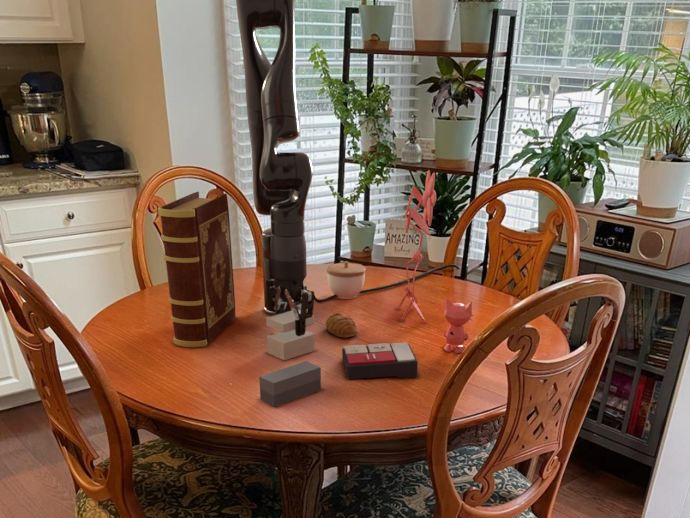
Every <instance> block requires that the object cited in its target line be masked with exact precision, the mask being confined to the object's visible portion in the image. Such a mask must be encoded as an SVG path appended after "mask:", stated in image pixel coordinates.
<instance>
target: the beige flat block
mask: <svg viewBox="0 0 690 518" xmlns="http://www.w3.org/2000/svg"><path fill="white" fill-rule="evenodd" d="M298 311H299V314H301V310H298ZM295 320H296V318H295V315H294V312H293V310H292V311H289V312H285V313H281V314H277V315H270V316H266V317H265V321H266V323H265V324H266V327H267V328H270V329H272V330H275V331H278V332H279V333H280V332H282V333H285V332H289V331H292V330H296V326H295ZM312 325H315V315H314V314H313V316H312V317H310V318H306V326H305V327H306V328H307V327H308V326H312Z"/></svg>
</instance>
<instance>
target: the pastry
mask: <svg viewBox="0 0 690 518" xmlns="http://www.w3.org/2000/svg"><path fill="white" fill-rule="evenodd" d="M325 327H326V330H327V331H328V332H329V333H330V334H332V335H333V336H335V337H338V338H348V337H355V336H356V334H357V333H358V330H357V328H358V327H357V325H356V322H355V320H354V319H353V318H352V317H351V316H349V315H346V314H344V313H341V312H335V313H333V314H331V315H329V317H327V319H326V321H325Z"/></svg>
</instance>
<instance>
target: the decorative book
mask: <svg viewBox="0 0 690 518" xmlns="http://www.w3.org/2000/svg"><path fill="white" fill-rule="evenodd" d="M157 213H158V216H160V223H161V233H162V234H160V237H161V241H163V248H164V254H163V255H162V256H163V260H164V261H165V267H166V275H167V285H168V291H169V297H168V303H169V304H170V308H171V309H170V311H171V315H170V321H171V322H172V326H173V334H174V336H172V339H173V340H172V341H173V344H174V345H176V346H178V347H182V348H190V349H191V348H203V347H206V346H207V345H208V344H209V343H210V342H211V341H212V340H214V338H216V337H217V336H218V335H219V334H220V333H222V331H223V330H224V329H226V328H227V327H228V326H229V325H230V324H231V323H233V321H234V320H235V319H236V296H235V295H236V294H235V282H234V281H235V279H234V268H233V266H234V265H233V252H232V251H233V250H232V239H231V237H232V236H231V224H230V210H229V201H228V194H227V192H225V193H223V194H221V195H220V196H218V197H216V198H209V197H208V198H205V197H200V192H199V191H196V192H192V193H190V194H188V195H186V196H183V197H181V198H179V199H176V200H174V201H171V202H169V203H166V204H165V205H163V206H158V207H157Z"/></svg>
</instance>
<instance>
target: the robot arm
mask: <svg viewBox="0 0 690 518" xmlns="http://www.w3.org/2000/svg"><path fill="white" fill-rule="evenodd" d="M235 5H236V14H237V21H238V27H239V36H240V42H241V43H240V44H241V51H242V58H243V68H244V85H245V86H244V87H245V101H246V102H245V104H246V115H247V124H248V131H249V140H250V149H251V169H252V170H251V172H252V173H251V174H252V175H251V176H252V198H253V205H254V208H255V211H256V213H257V214H258V215H261V216H269V218H270V227H269V228H267V229H264V230H263V231H262V233H261V236H260V238H261V257H262V258H261V259H262V260H261V261H262V279H263V282H262V283H263V298H264V299H263V300H264V301H263V302H264V303H263V304H264V307H263V309H264V313H266V314H268V315H270V316H274V315H277V314H281V313H285V312H289V311H292V310H293V312H294V315H295V318H296V320H295V326H296V330H295V334H296V335H297V336H302V335H304V334H305V332H306V331H307V330H306V329H307V326H306V318H310V317H312V316H313V315H314V314H313V313H314V304H315V302H316V303H324V302H328V301H330V300H333V299H335V298H337V297H338V296H337V295H335V294H333V295H331V296H328V297H326V298H324V299H319V298H317V296H316V295H315V292H314V290H308V288H307V287H308V286H307V285H305V284H304V280H305V279H306V278H307V272H308V271H307V270H308V269H307V266H308V265H307V241H306V233H305V232H306V225H305V224H306V222H305V221H306V220H305V218H306V217H305V214H306V213H305V212H306V207H307V200H308V195H309V193H310V192H309V191H310V188H311V184H312V180H313V174H314V168H313V163H312V160H311V158H310V157H309V156H308V154H306V153H305V152H301V151H291V152H289V151H287V152H285V151H284V152H278V151H277V149H278V148H279V146H280V145H284V144H286V143H291V142H293V141H295V140H296V139H298V137H299V136H300V121H299V111H298V103H297V91H296V6H295V0H235ZM259 29H260V30H267V29H268V30H269V29H278V30H279V40H278V45H277V49H276V52H275V55H274V58H273V60H272V63H271V62H270V60H269V59H268V57H267V56H266V53H265V51H264V50H263V48H262V46H261V44H260V41H259V38H258V35H257V33H256V30H259ZM447 268H455V269H457V270H461V268H460V267H459V265H457V264H456V263H455V264H454V263H449V264H446V265H443V266H440V267H435V268H432V269H430V270H427V271H425V272H422V273H420V274H417V275H415V280H417V279H419V278H422V277H424V276H427V275H428V274H429V275H430V274H431V273H433V272H438V271H442V270H444V269H447ZM411 281H413V276H412V277H409V282H411ZM405 283H408V279H407V278H406V279H404V280H401V281H398V282H394V283H391V284H387V285H382V286H379V287H374V288H373V287H372V288H368V289H362V290H361V291H360V293H359V294H358V295H361V294H367V293H371V292H376V291H382V290H386V289H389V288H393V287H396V286H399V285H404V284H405ZM298 310H301V314H299V311H298ZM305 326H306V327H305Z"/></svg>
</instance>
